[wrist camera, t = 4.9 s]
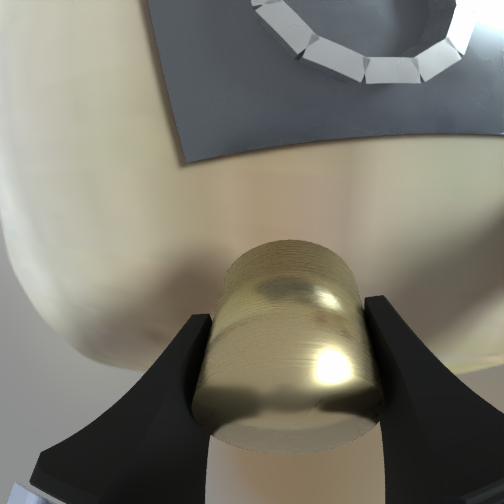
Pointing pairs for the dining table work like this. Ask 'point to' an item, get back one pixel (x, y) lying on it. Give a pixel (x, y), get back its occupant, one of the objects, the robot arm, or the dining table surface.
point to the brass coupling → (289, 354)
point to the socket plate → (306, 102)
